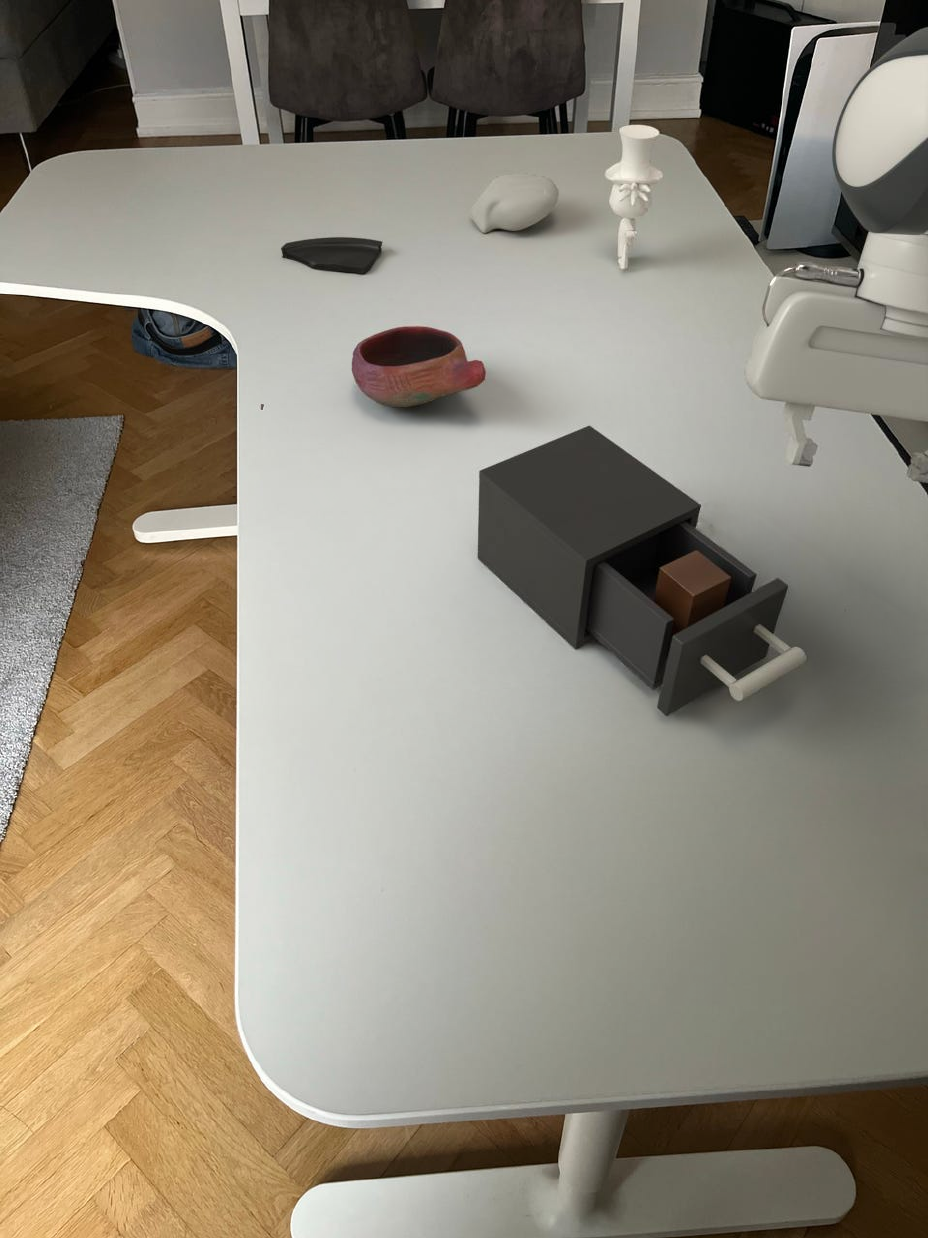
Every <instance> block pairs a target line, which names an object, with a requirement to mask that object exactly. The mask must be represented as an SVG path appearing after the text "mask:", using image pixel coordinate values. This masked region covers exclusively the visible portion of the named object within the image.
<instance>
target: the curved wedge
mask: <svg viewBox="0 0 928 1238" xmlns="http://www.w3.org/2000/svg"><path fill="white" fill-rule="evenodd" d="M382 246H383V241H382V240H378V239H371V238H365V237H352V236H330V237H317V238H306V239H301V240H295V241H289V242H285V244H284V245H282V246H281V248H280V251H281V253H282V255H281V256H282V258H284V259H288V260H292V261H295V262H299V263H301V264H302V265H305V266H307V267H309V268H311V269H314V270H324V271H336V272H346V273H356V274H366V272H367V271H368V270H369V269H371V267H372V266H373V265H374V262H375V260H376V258H377V257H378V256H379V255H380V254H381V253H382Z"/></svg>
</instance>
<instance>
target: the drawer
mask: <svg viewBox="0 0 928 1238" xmlns="http://www.w3.org/2000/svg"><path fill="white" fill-rule="evenodd" d="M696 550H697V551H698V552H700V553H701V554H702V555H703V556H705V557H706V558H707V559H709V560H710V561H711V562H712V563H714V564H715V565H716V566H717V567H719V568H720V569H721V570H722V571H724V572H725V573H726V574H728V575H729V576H730V577H731V580H730V584H729V587H728V591H727V595H726V599H725V603H724V607H723V608H722V609H720V610H719V611H717V612H715V613H713V614H711V615H709V616H708V617H706V618H704V619H702V620H700V621H699V622H697V623H695V624H693V625H691V626H690V627H688V628H686V629H684V630H682V631H680V632H679V633H677V634H675V635H673V637H672V642H671V646H670V651H669V655H668V656H666V654H667V649H668V644H669V640H670V635H671V631H672V626H673V621H674V618H673V617H671V616H670V615H669V614H668V613H666V612H665V611H664V610H663V609H662V608H660V607H659V606H658V605H657V604H656V603H654V602H653V601H654V596H655V591H656V585H657V580H658V575H659V570H660V567H662V566H664V565H666V564H669V563H671V562H673V561H675V560H677V559H679V558H681V557H683V556H685V555H687V554H690V553H692V552H694V551H696ZM757 575H758V574H757V572H755V571H754V570H752V569H751V568H750V567H748V566H747V565H746V564H744V563H743V562H742V561H740V560H739V559H738V558H736V557H735V556H734V555H732V554H731V553H730V552H728V551H727V550H725V549H724V548H723V547H722V546H720V545H719V544H718V543H716V542H715V541H713V540H712V539H711V538H709V536H707V535H705V534H704V533H703V532H701V531H700V530H698V529H697V527H696V528H694V527H693V526H691V525H690V524H689V523H687V522H686V521H685V520H684V521H682V522H680V523H678V524H676V525H674V526H672V527H670V528H668V529H666V530H664V531H662V532H660V533H658V534H656V535H654V536H652V537H650V538H648V539H646V540H643V541H641V542H639V543H637V544H635V545H633V546H631V547H629V548H627V549H625V550H623V551H621V552H619V553H617V554H615V555H613V556H611V557H609V558H607V559H605V560H603V561H600V562H598V563H596V564H594V565H593V572H592V580H591V588H590V596H589V603H588V611H587V619H586V626H585V629H586V630H587V631H588V632H589V633H590V634H592V635H593V636H594V637H595V638H596V639H595V640H597V641H598V642H599V643H600V644H601V645H602V646H603V647H605V648H606V649H607V650H608V651H609V652H610V653H611V654H613V655H614V656H615V658H617V659H618V660H619V661H620V662H621V663H622V664H623V665H625V666H626V667H627V668H628V669H629V670H630V671H631V672H632V673H634V674H635V675H636V676H637V677H638V678H639V679H640V680H641V681H642V682H643V683H644V684H646V685H647V686H648V687H649V689H651V690H655V689H656V688H658V687H660V686H661V687H660V693H659V697H658V701H657V706H656V708H657V709H658V710H659V711H660V712H661V713H662V714H663V715H664V716H665V717H669V716H670V715H672V714H674V713H675V712H677V711H679V710H680V709H682V708H684V707H686V706H687V705H689V704H690V703H692V702H694V701H696V700H697V699H699V698H701V697H702V696H704V695H705V694H707V693H709V692H711V691H712V690H715V689H716V688H717V687H719V686H721V685H723V684H725V685H726V686H727V687H728V690H729V695H730V696H731V697H732V699H734V700H735V701H737V702H741V701H743V700H745V699H747V698H748V697H750V696H751V695H753V694H755V693H756V692H758V691H759V690H761V689H763V688H764V687H766V686H768V685H770V683H773V682H774V681H776V680H778V679H779V678H781V677H783V676H784V675H786V674H787V673H789V672H790V671H792V670H794V669H796V668H798V667H799V666H800V665H802V664H803V663H805V662H806V660H807V656H806V653H805V652H804V650H803V649H802V648H801V647H799V646H793V647H791V646H789V645H788V644H786V643H785V642H784V641H783V640H782V639H780V638H779V637H777V636H776V635H775V631H776V628H777V624H778V621H779V618H780V614H781V613H782V612H781V611H782V608H783V605H784V602H785V598H786V596H787V593H788V589H789V587H790V586H789V584H788V583H786V582H785V581H783V580H782V579H780V578H779V577H776V578H775V579H773V580H771V581H769V582H768V583H765V584H764V585H762V586H760V587H759V588H757V589H754V586H755V582H756V579H757ZM753 589H754V590H753ZM770 647H772V648H774V649H775V650H776V651H777V652H778V653H780V655H778V656H776V657H774V658H773V659H772V660H770V661H768V662H766V663H764V664H762V665H761V666H760V667H758V668H757V669H755V670H753V671H752V672H750V673H748V674H746V675H745V676H742V678H740V679H738V680H737V679H736V678H735V677H736V676H738V675H739V674H741V673H743V672H745V671H746V670H747V669H749V668H751V667H753V666H755V665H756V664H758V663H759V662H761V661H763V660H764V659H766V658H767V655H768V653H769V649H770Z"/></svg>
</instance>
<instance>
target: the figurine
mask: <svg viewBox="0 0 928 1238" xmlns="http://www.w3.org/2000/svg"><path fill="white" fill-rule="evenodd" d="M618 132H619V136H620V140H621V149H622V155H621V158H620V161H619V162H616V163H615V164H613V165H612V166H610V167H608V168H607V169H606V170H605V173H604V176H605V178H606V179H607V180H608V181H609V182H611V183H613V185H612V187H611V188H612V189H611V191H610V195H609V198H608V199H609V200H608V203H609V206H610V209H611V210H612V212H613V213H614V214H615V215H617V216H619V217H621V218H622V219H621V221H620V223H619V226H618V236H617V258H618V259H617V261H618V265H619V268H620V269H623V270H626V269H628V267H629V251H631V250H632V248H633V247H634V243H635V237H637V236H638V232H637V231H636V227H637V225H636V223H637V222H636V220H635V219H637V218H640V217H643V216H645V215H647V213H648V212H649V209H650V208H651V207H652V205H653V198H652V194H651V193H652V188H651V187H650V185H656V184H658V183H660V182H661V181H662V180H663V177H664V174H663V172H662V171H661V170H659V169H658V168H656V167H655V166H653V165H652V164H651V153H652V150H653V148H654V145H655V143H656V140H657V139H658V137H659V135H660V131H659V130H658V129H657V128H656V127H652V126H650V125H645V124H628V125H625V126H621V127H620V128H619V130H618Z"/></svg>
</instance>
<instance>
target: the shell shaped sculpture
mask: <svg viewBox="0 0 928 1238" xmlns="http://www.w3.org/2000/svg"><path fill="white" fill-rule="evenodd" d="M559 195H560V191H559V189H558V187H557V185H556V183H554V180H553V179H552V178H550V177H547V176H544V175H537V174H534V173H508V174H504V175H500V176H496V177H495V178H494V179H493V181H491V182H490V183H489V185H488V186H487V187H486V189H485V191H484V192H482V193H481V194H480V196H479V197H478V198H477V200H476V202H475V203H474V204H473V205H472V206H471V208H470V210H469V215H470V216H471V219H472V221H473V222H474V224H475V225H476V226H477V228H478V229H479V230H480V232H481V233H482V234H487V233H489V232H491V231H493V230H496V229H500V230H504V231H510V232H511V231H512V232H516V231H522V230H524V229H526V228H528V227H530V226H531V227H532V226H533V225H535V224H537V223H538V222H540V221H541V220H543V219H544V218H546V217H547V216H548V215H549V214H550V213H551V212H552V211H553V209H554V208H555V206H556V205H557V203H558V200H559Z"/></svg>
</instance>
